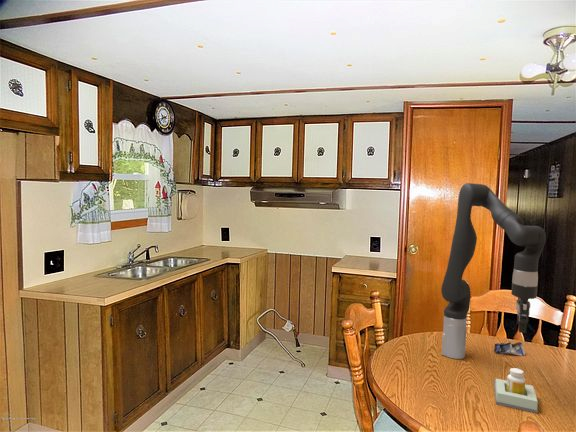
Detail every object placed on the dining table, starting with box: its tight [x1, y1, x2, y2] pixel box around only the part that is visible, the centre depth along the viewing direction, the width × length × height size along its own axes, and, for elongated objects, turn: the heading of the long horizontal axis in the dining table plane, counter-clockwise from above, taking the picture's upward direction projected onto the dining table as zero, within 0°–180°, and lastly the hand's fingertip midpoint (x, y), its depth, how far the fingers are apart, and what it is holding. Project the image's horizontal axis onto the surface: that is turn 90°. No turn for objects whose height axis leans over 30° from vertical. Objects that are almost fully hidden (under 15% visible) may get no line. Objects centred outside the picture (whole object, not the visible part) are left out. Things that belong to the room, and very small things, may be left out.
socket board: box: [493, 378, 539, 414], centre depth 136 cm, size 12×17×4 cm
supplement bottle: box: [506, 367, 526, 395], centre depth 134 cm, size 5×5×10 cm
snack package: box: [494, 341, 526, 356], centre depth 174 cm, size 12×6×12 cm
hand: (521, 328), depth 136 cm, fingers open, 8 cm apart
